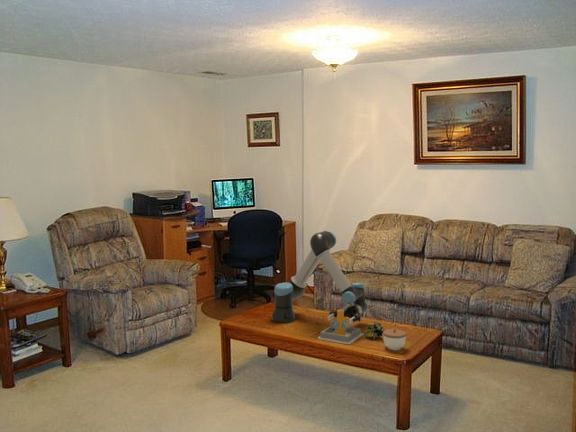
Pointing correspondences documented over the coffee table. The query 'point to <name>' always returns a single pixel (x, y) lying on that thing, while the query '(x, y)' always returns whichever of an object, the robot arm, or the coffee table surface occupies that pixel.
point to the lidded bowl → (394, 339)
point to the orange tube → (340, 323)
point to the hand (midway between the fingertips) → (339, 319)
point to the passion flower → (374, 330)
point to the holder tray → (348, 338)
